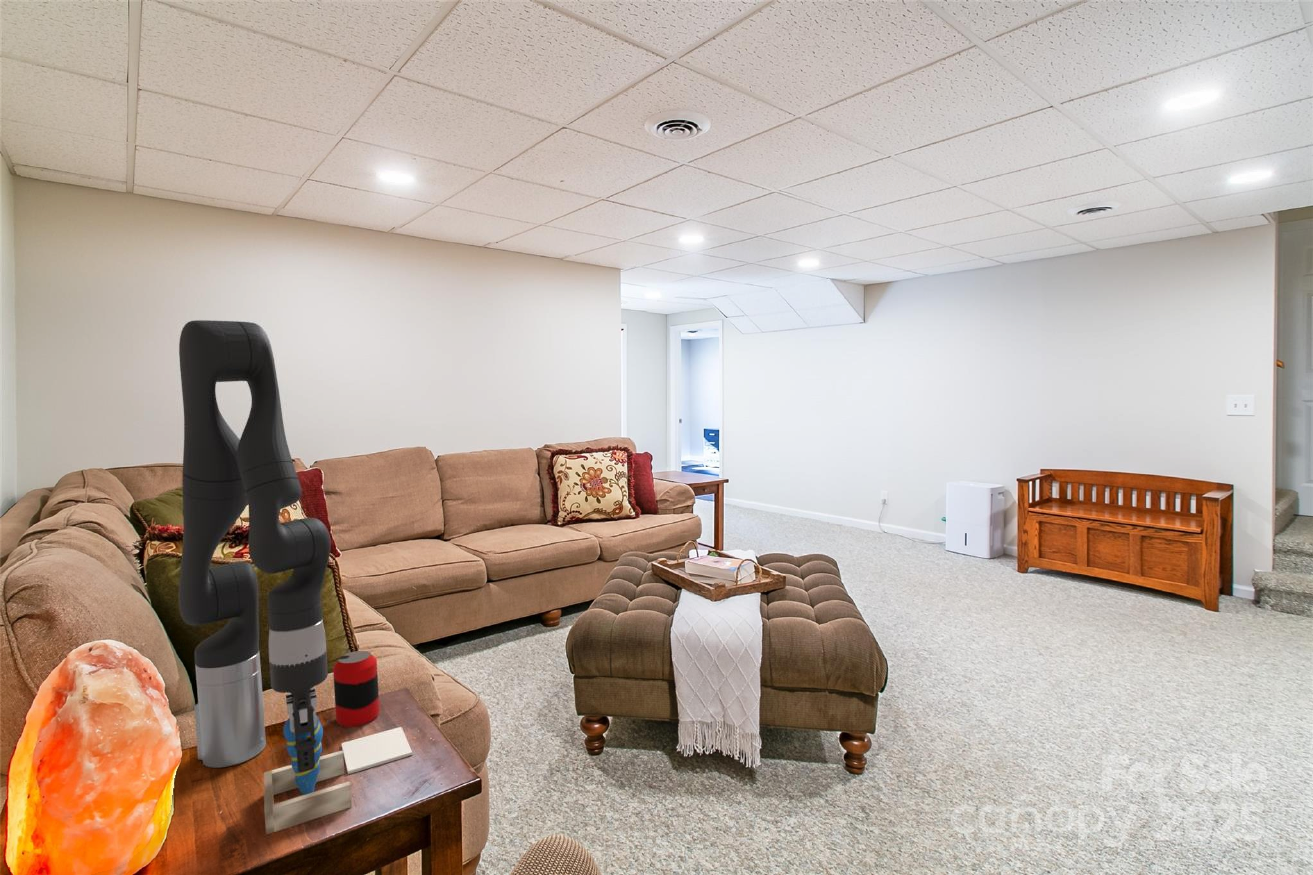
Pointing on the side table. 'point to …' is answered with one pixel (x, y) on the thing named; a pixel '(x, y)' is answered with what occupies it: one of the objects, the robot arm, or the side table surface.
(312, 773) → the ornament
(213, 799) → the side table surface
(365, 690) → the soda can
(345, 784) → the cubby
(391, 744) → the pad
